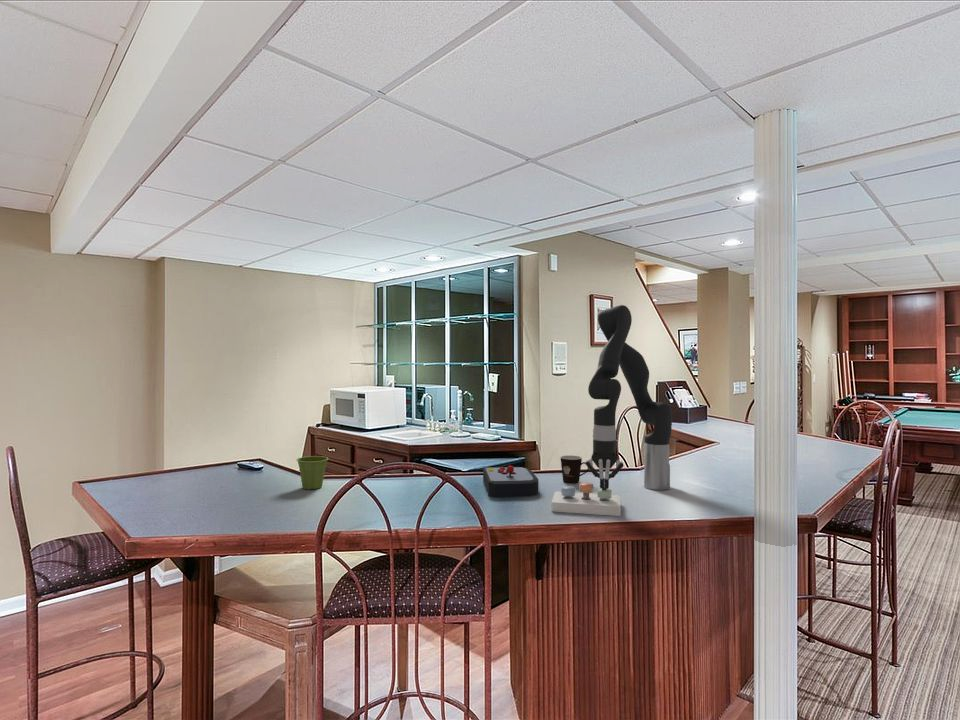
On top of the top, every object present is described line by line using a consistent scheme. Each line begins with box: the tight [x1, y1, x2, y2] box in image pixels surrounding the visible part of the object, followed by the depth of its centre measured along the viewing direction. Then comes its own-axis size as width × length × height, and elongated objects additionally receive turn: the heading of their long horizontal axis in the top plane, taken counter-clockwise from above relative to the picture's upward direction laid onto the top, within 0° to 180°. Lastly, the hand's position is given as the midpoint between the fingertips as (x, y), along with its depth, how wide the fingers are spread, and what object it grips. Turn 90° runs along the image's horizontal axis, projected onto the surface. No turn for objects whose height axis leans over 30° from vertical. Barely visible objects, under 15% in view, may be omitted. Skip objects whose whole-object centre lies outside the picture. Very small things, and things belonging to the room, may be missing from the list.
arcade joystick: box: [482, 465, 539, 499], centre depth 204 cm, size 28×19×10 cm
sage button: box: [596, 487, 613, 501], centre depth 176 cm, size 5×5×6 cm
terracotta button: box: [578, 482, 594, 500], centre depth 177 cm, size 5×5×6 cm
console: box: [551, 491, 622, 517], centre depth 177 cm, size 22×14×3 cm, turn 77°
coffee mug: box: [559, 454, 590, 485], centre depth 212 cm, size 12×9×10 cm
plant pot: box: [296, 455, 329, 490], centre depth 204 cm, size 12×12×11 cm
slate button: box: [560, 485, 576, 499], centre depth 179 cm, size 5×5×6 cm
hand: (604, 489), depth 176 cm, fingers closed
